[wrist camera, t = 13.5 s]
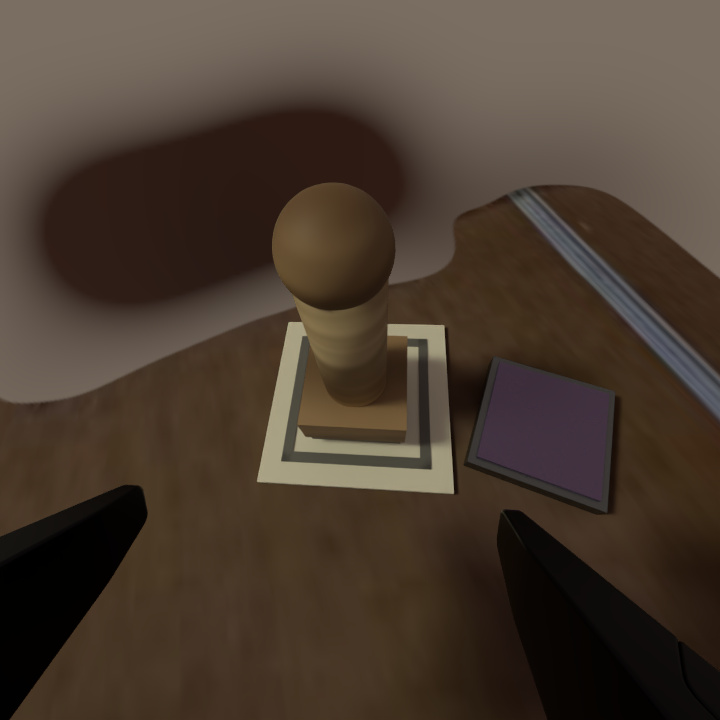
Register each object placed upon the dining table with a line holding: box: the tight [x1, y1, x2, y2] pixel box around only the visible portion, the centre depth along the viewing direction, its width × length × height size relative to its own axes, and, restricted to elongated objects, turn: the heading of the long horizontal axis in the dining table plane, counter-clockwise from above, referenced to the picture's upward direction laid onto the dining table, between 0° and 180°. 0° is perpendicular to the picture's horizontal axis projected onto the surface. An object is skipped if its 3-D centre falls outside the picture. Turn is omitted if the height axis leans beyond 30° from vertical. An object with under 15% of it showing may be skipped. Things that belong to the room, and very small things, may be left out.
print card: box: [257, 322, 454, 494], centre depth 22 cm, size 11×11×1 cm
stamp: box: [272, 183, 408, 444], centre depth 15 cm, size 6×6×14 cm
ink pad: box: [464, 356, 615, 515], centre depth 20 cm, size 7×7×1 cm
